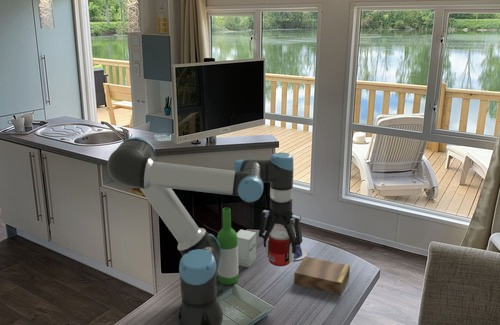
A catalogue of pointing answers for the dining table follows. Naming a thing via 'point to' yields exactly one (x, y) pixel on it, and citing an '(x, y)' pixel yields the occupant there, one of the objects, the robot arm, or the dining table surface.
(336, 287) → the wooden block
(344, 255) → the dining table surface
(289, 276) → the dining table surface
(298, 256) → the pudding
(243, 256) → the supplement box
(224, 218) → the wine bottle
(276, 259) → the canned food
